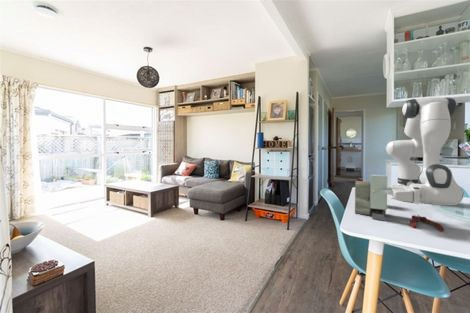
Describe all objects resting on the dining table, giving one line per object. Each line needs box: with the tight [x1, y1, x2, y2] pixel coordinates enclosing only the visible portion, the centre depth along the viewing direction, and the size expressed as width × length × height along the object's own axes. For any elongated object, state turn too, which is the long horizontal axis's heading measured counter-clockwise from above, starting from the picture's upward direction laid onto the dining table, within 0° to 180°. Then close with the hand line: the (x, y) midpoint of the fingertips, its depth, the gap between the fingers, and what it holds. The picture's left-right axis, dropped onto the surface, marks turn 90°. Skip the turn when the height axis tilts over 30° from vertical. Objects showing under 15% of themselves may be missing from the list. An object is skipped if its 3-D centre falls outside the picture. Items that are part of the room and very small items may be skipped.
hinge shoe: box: [371, 210, 385, 221], centre depth 113 cm, size 5×5×3 cm
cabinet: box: [354, 180, 387, 217], centre depth 119 cm, size 8×14×17 cm, turn 60°
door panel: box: [370, 174, 388, 211], centre depth 111 cm, size 3×7×17 cm, turn 60°
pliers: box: [409, 213, 445, 232], centre depth 106 cm, size 11×20×3 cm, turn 156°
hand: (380, 190), depth 111 cm, fingers closed on door panel, 2 cm apart
